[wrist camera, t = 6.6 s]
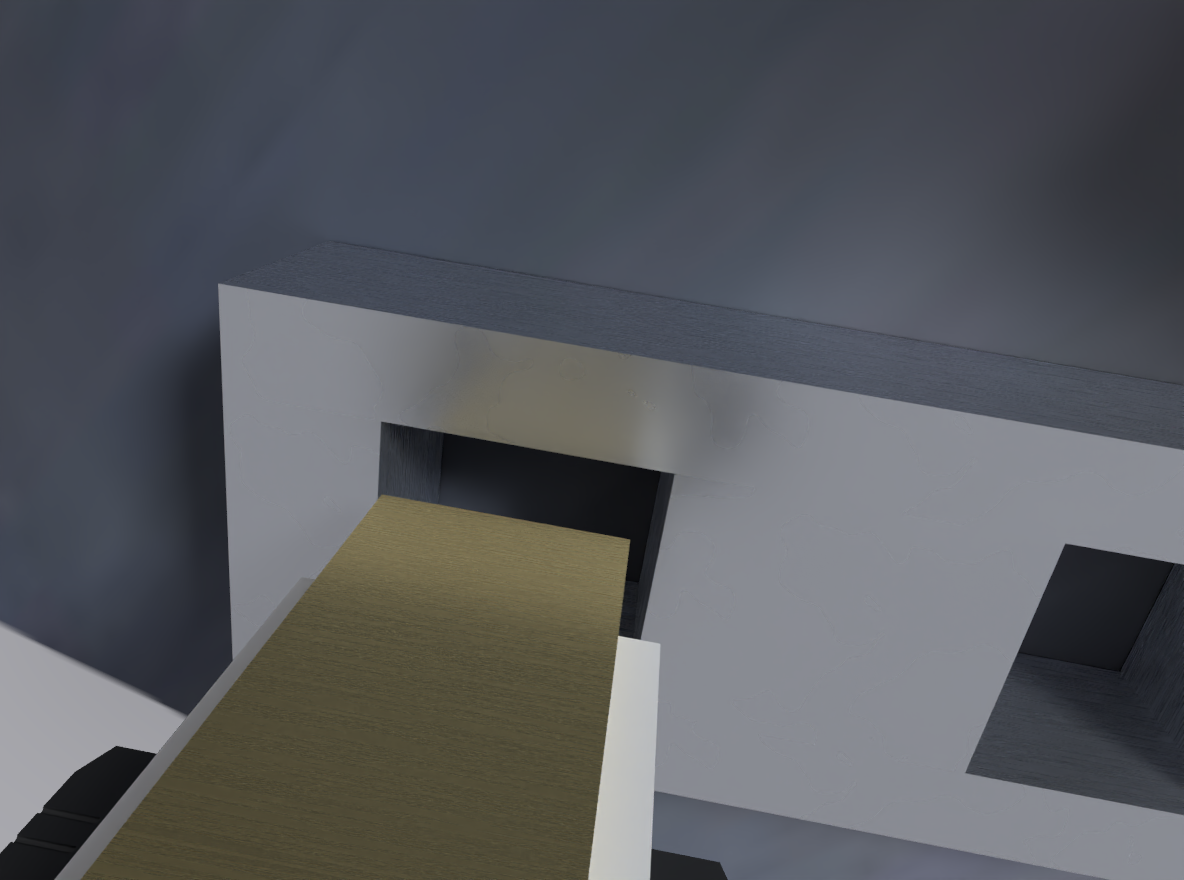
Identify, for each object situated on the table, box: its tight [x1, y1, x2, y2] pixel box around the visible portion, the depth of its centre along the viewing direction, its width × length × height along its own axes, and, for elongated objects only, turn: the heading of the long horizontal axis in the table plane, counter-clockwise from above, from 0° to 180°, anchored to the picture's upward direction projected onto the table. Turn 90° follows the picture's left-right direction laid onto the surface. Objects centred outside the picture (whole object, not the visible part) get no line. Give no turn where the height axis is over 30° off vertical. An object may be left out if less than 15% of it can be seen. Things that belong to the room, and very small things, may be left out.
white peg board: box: [218, 241, 1184, 880], centre depth 19 cm, size 10×26×5 cm, turn 82°
